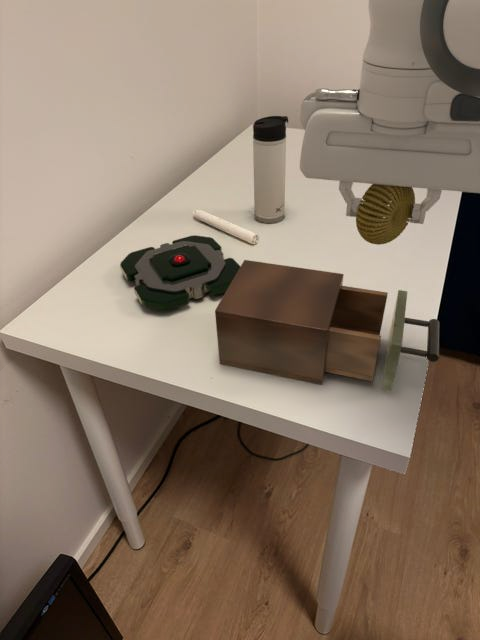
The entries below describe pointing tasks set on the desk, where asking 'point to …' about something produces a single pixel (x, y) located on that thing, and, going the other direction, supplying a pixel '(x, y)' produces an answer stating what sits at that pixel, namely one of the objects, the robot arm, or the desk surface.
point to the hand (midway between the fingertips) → (384, 218)
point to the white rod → (226, 226)
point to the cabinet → (277, 320)
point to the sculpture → (384, 212)
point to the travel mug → (269, 168)
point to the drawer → (371, 335)
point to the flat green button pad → (179, 272)
